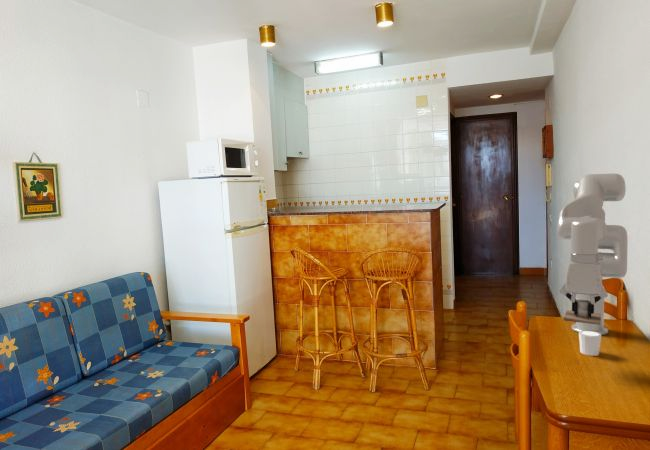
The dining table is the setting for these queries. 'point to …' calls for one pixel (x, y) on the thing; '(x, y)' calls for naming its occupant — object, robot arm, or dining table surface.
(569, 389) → the dining table surface
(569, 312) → the lid
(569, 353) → the dining table surface
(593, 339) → the white cup
